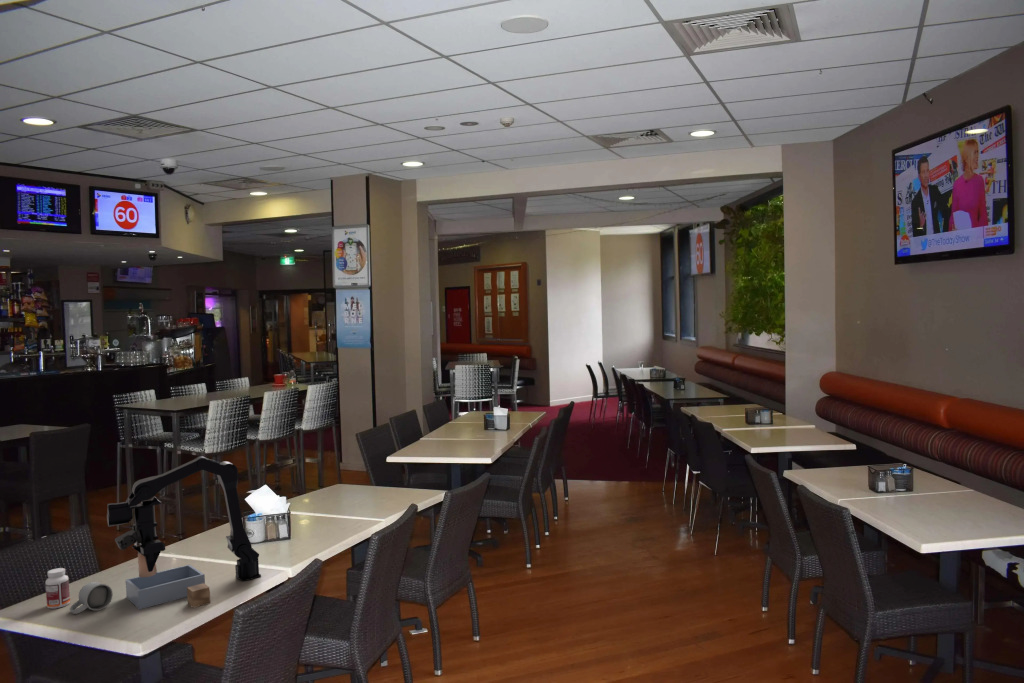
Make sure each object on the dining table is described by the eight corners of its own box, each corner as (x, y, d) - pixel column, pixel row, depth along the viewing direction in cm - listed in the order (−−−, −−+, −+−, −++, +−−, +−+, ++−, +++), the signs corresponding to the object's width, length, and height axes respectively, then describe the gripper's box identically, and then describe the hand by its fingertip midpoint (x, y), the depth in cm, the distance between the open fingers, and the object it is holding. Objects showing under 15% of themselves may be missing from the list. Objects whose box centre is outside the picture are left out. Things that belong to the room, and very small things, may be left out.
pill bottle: (66, 600, 232) (64, 565, 232) (73, 604, 228) (70, 569, 228) (44, 606, 228) (42, 571, 228) (50, 610, 224) (48, 575, 223)
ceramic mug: (102, 600, 231) (100, 576, 231) (114, 605, 226) (112, 581, 225) (65, 612, 223) (63, 587, 222) (76, 618, 217) (74, 592, 217)
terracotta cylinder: (154, 570, 234) (152, 549, 234) (158, 574, 230) (157, 552, 230) (137, 574, 230) (135, 552, 230) (141, 578, 227) (140, 556, 226)
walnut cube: (204, 599, 228) (203, 583, 228) (210, 603, 225) (209, 587, 225) (187, 603, 225) (187, 587, 225) (193, 607, 221) (192, 591, 221)
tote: (190, 580, 246) (189, 564, 245) (205, 591, 235) (204, 574, 234) (126, 597, 233) (125, 579, 233) (138, 609, 222) (137, 591, 222)
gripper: (109, 520, 232) (112, 569, 232) (124, 531, 217) (127, 583, 218) (147, 513, 239) (150, 560, 239) (164, 523, 225) (167, 573, 225)
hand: (147, 569), depth 230 cm, fingers closed on terracotta cylinder, 5 cm apart
